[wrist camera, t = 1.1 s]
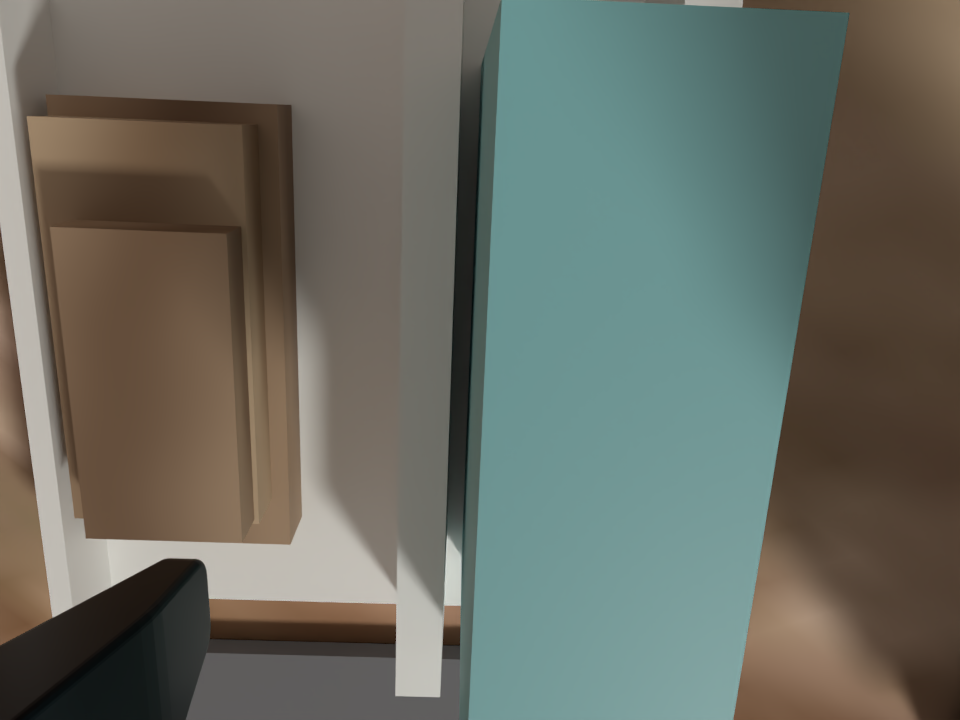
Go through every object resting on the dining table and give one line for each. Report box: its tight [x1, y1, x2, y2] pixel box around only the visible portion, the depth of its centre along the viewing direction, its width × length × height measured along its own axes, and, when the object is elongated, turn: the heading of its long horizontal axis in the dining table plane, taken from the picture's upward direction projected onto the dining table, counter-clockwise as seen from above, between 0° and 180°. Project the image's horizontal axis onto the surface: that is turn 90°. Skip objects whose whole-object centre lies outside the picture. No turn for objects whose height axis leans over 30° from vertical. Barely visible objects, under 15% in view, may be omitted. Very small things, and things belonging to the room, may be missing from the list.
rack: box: [0, 0, 743, 697], centre depth 18 cm, size 14×15×4 cm
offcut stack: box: [27, 94, 302, 545], centre depth 17 cm, size 5×10×4 cm, turn 177°
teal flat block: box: [459, 0, 849, 720], centre depth 14 cm, size 3×12×11 cm, turn 177°
